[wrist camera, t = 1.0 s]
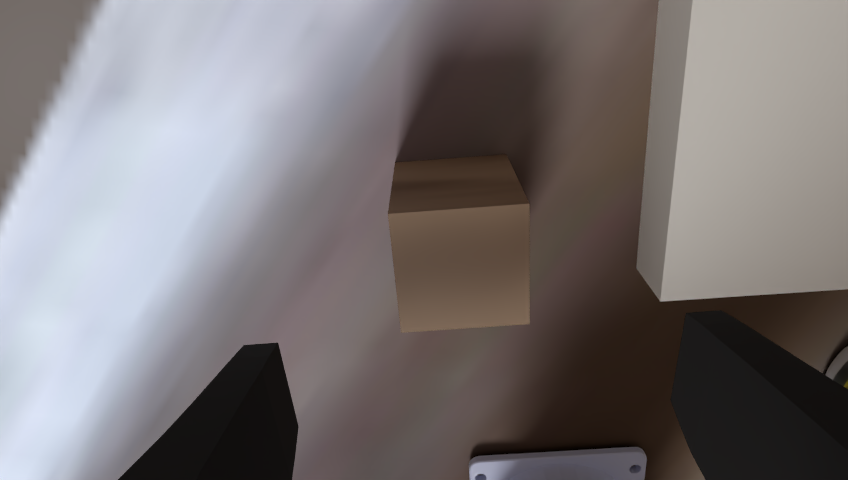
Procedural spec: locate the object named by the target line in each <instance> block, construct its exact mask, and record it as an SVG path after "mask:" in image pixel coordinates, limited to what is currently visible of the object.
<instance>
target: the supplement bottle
mask: <svg viewBox="0 0 848 480" xmlns="http://www.w3.org/2000/svg"><path fill="white" fill-rule="evenodd" d="M825 375H826V376H827V377H829V378H831V379H832V380H834V381H835V382H837V383H839V384H840V385H842V386H844V387H845V388H847V389H848V346H847V347H845V348H844V349H843V350H842V351H841V352H840V353H839V354H838V355H837V356H836V358H835V359H834V360H833V362H832V363H831V365H830V366H829V368H828V370H827V372H826V374H825Z"/></svg>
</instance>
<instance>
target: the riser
mask: <svg viewBox="0 0 848 480" xmlns="http://www.w3.org/2000/svg"><path fill="white" fill-rule="evenodd" d="M636 269H637V270H638V271H639V273H640V274H641V276H642V277H643V278H644V280H645V281H646V282H647V284H648V285H649V287H650V288H651V289H652V291H653V292H654V294H655V295H656V296H657V298H658V299H659V301H660V302H662V301H678V300H693V299H708V298H723V297H738V296H753V295H768V294H783V293H798V292H813V291H828V290H843V289H848V0H659V4H658V16H657V28H656V40H655V52H654V64H653V75H652V87H651V99H650V111H649V123H648V135H647V146H646V158H645V170H644V182H643V194H642V206H641V217H640V229H639V241H638V253H637V265H636Z"/></svg>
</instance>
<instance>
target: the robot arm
mask: <svg viewBox="0 0 848 480" xmlns="http://www.w3.org/2000/svg"><path fill="white" fill-rule="evenodd" d="M671 402H672V405H673V408H674V410H675V413H676V416H677V418H678V421H679V424H680V426H681V429H682V431H683V434H684V436H685V439H686V441H687V444H688V446H689V448H690V451H691V453H692V455H693V457H694V459H695V461H696V463H697V465H698V467H699V468H700V470H701V472H702V474H703V476H704V478H705V480H848V389H847V388H845V387H844V386H842V385H840V384H839V383H837V382H835V381H834V380H832V379H831V378H829V377H827V376H826V375H824V374H822V373H821V372H819V371H818V370H816V369H814V368H813V367H811V366H810V365H808V364H806V363H805V362H803V361H802V360H800V359H799V358H797V357H795V356H794V355H792V354H791V353H789V352H788V351H786V350H784V349H783V348H781V347H780V346H778V345H777V344H775V343H774V342H772V341H770V340H769V339H767V338H766V337H764V336H763V335H761V334H759V333H758V332H756V331H755V330H753V329H751V328H750V327H748V326H747V325H745V324H743V323H742V322H740V321H739V320H737V319H735V318H734V317H732V316H730V315H728V314H727V313H725V312H723V311H721V310H720V311H706V312H693V313H686V316H685V322H684V327H683V333H682V339H681V344H680V350H679V356H678V361H677V367H676V373H675V378H674V384H673V390H672V395H671ZM297 434H298V423H297V419H296V415H295V411H294V406H293V402H292V398H291V394H290V390H289V386H288V382H287V378H286V374H285V370H284V366H283V361H282V357H281V353H280V349H279V345H278V343H268V344H254V345H244V346H243V347H242V348H241V349H240V350H239V351H238V352H237V353H236V354H235V356H234V357H233V358H232V359H231V360H230V361H229V362H228V363H227V364H226V366H225V367H224V368H223V369H222V370H221V371H220V372H219V373H218V375H217V376H216V377H215V378H214V379H213V380H212V381H211V382H210V384H209V385H208V386H207V387H206V388H205V389H204V390H203V391H202V393H201V394H200V395H199V396H198V397H197V398H196V399H195V400H194V402H193V403H192V404H191V405H190V406H189V407H188V408H187V409H186V410H185V411H184V412H183V414H182V415H181V416H180V417H179V418H178V419H177V420H176V421H175V422H174V423H173V424H172V425H171V427H170V428H169V429H168V430H167V431H166V432H165V433H164V434H163V435H162V436H161V437H160V438H159V439H158V440H157V441H156V442H155V443H154V444H153V445H152V446H151V447H150V448H149V449H148V450H147V451H146V452H145V453H144V454H143V455H142V456H141V457H140V458H139V459H138V460H137V461H136V462H135V463H134V464H133V465H132V466H131V467H130V468H129V469H128V470H127V471H126V472H125V473H124V474H123V475H122V476H121V477H120V478H119V479H118V480H292V475H293V467H294V460H295V452H296V443H297ZM646 462H647V458H646V455H645V452H644V451H643V450H642V449H641V448H639V447H622V448H605V449H588V450H571V451H554V452H537V453H520V454H503V455H486V456H476V457H474V458H472V459H471V460H470V462H469V476H470V480H645V471H646ZM633 465H636V466H633ZM631 466H633V467H631ZM478 474H484V475H481V476H479V475H478Z"/></svg>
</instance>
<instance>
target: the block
mask: <svg viewBox="0 0 848 480" xmlns="http://www.w3.org/2000/svg"><path fill="white" fill-rule="evenodd" d="M388 219H389V228H390V237H391V246H392V255H393V264H394V273H395V282H396V291H397V300H398V309H399V318H400V327H401V333H404V332H418V331H433V330H448V329H463V328H478V327H493V326H508V325H523V324H530V203H529V201H528V199H527V197H526V195H525V193H524V191H523V189H522V187H521V184H520V182H519V180H518V178H517V176H516V174H515V172H514V170H513V167H512V165H511V163H510V161H509V159H508V157H507V155H506V154H501V155H487V156H474V157H460V158H447V159H434V160H420V161H407V162H395V167H394V175H393V182H392V189H391V196H390V203H389V210H388Z"/></svg>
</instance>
